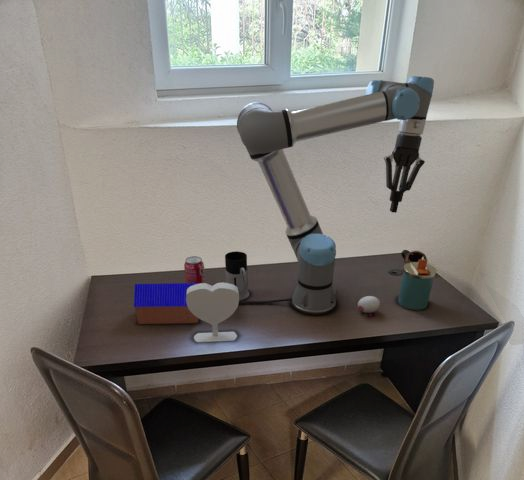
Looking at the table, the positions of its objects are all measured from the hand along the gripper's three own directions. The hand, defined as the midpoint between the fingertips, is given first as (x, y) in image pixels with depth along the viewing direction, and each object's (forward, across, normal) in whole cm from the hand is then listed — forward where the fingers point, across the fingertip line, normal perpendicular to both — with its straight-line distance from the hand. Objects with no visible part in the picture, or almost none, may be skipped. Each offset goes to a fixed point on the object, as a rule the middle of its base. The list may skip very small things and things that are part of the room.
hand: (393, 211), depth 155 cm
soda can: (+34, -65, +5) cm, 74 cm away
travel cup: (+29, +11, -9) cm, 32 cm away
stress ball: (+31, -6, -13) cm, 34 cm away
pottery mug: (+25, +19, +18) cm, 37 cm away
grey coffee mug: (+34, -50, -2) cm, 60 cm away
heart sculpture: (+37, -57, -26) cm, 73 cm away
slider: (+16, +10, -13) cm, 23 cm away
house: (+37, -73, -12) cm, 83 cm away
